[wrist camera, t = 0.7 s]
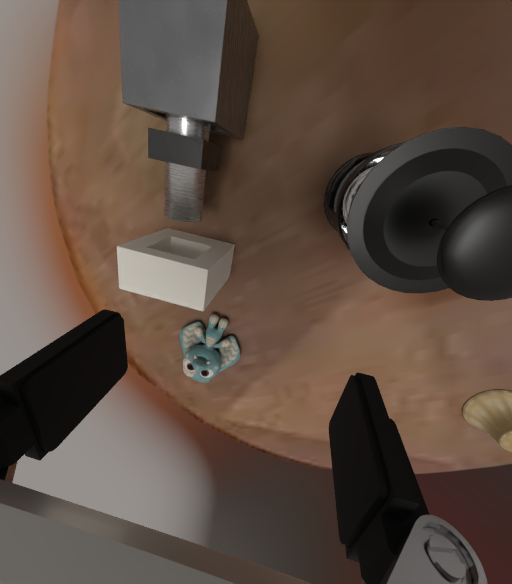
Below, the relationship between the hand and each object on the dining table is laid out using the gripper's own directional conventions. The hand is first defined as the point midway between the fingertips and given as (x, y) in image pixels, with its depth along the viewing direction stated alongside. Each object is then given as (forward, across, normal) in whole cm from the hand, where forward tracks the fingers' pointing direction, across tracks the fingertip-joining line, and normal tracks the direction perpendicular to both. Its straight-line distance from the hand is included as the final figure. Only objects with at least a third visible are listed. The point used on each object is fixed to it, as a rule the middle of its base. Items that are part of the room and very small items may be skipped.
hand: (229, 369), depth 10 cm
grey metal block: (+25, +10, -15) cm, 31 cm away
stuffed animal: (+26, +8, +20) cm, 33 cm away
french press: (+25, -9, -7) cm, 28 cm away
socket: (+25, +11, +5) cm, 28 cm away
